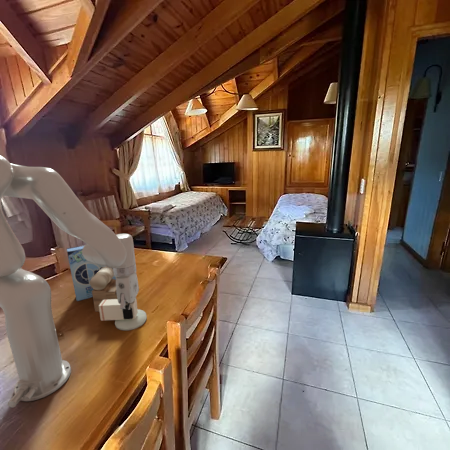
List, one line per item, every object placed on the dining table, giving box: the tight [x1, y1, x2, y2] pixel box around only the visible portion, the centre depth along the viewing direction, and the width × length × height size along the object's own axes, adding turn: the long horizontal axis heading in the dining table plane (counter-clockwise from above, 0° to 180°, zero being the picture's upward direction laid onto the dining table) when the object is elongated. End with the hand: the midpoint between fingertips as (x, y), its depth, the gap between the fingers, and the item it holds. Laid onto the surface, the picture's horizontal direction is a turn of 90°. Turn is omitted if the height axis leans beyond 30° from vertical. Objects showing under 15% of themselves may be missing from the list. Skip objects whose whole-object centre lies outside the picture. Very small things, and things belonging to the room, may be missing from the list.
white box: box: [99, 297, 139, 322], centre depth 92 cm, size 4×12×6 cm, turn 94°
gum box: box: [66, 244, 116, 302], centre depth 111 cm, size 20×5×23 cm, turn 123°
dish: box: [114, 308, 147, 331], centre depth 94 cm, size 11×11×1 cm
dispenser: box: [90, 267, 117, 313], centre depth 103 cm, size 10×10×15 cm
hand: (130, 314), depth 93 cm, fingers closed on white box, 3 cm apart
